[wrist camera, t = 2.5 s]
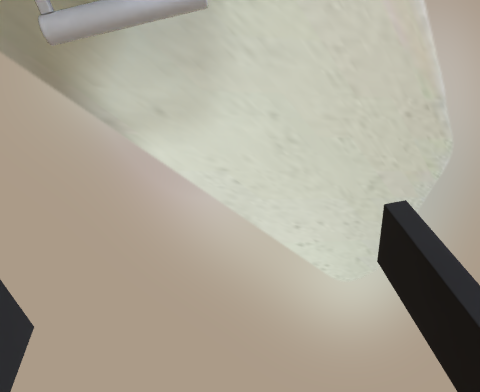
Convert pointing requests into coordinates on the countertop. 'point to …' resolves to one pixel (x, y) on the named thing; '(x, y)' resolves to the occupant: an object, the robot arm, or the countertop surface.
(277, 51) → the countertop surface
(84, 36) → the light blue drawer
